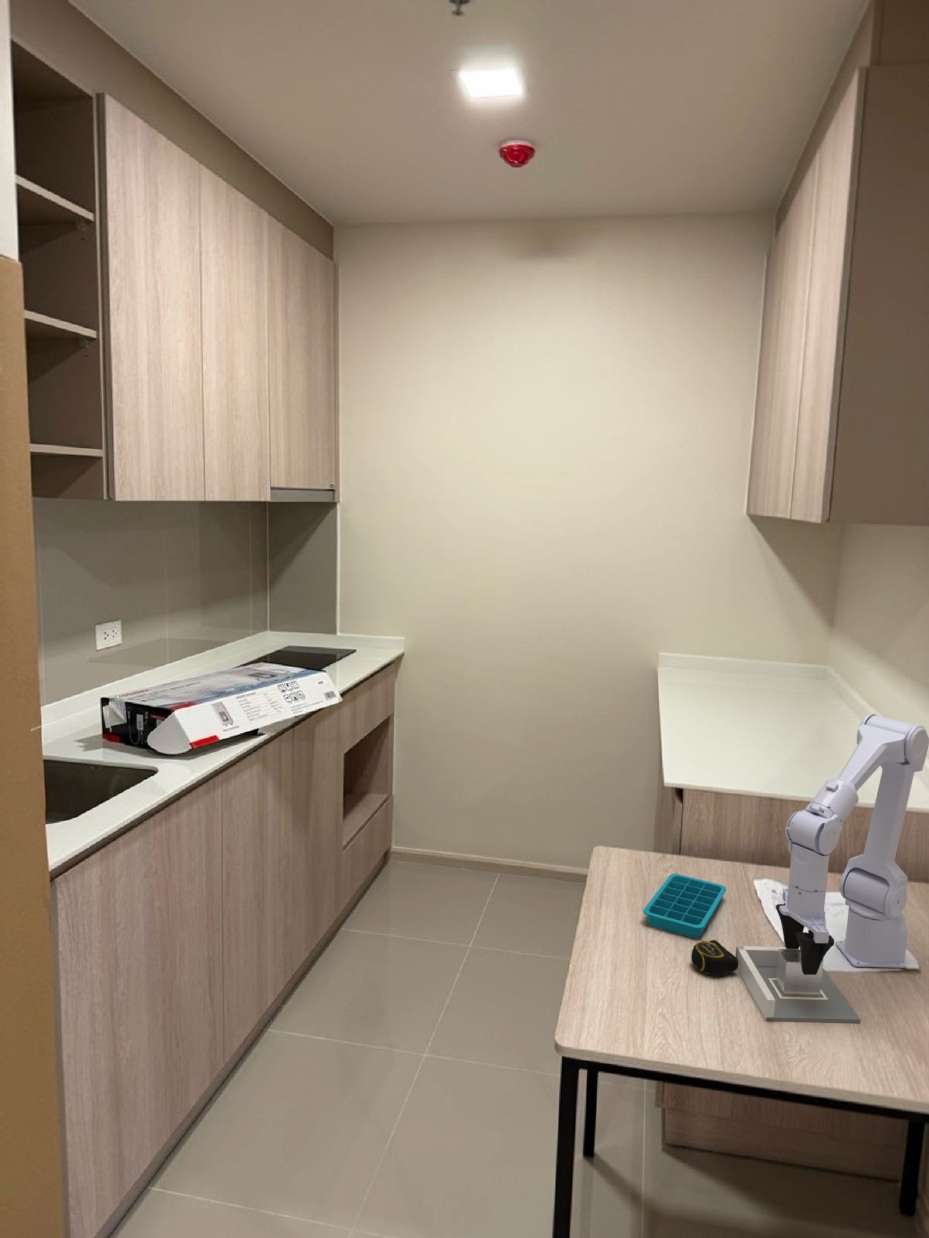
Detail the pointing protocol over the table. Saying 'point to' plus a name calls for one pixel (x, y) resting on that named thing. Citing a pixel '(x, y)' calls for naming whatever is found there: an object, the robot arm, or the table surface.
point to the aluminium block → (796, 975)
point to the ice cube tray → (684, 905)
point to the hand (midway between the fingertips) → (800, 960)
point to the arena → (760, 981)
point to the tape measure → (713, 958)
